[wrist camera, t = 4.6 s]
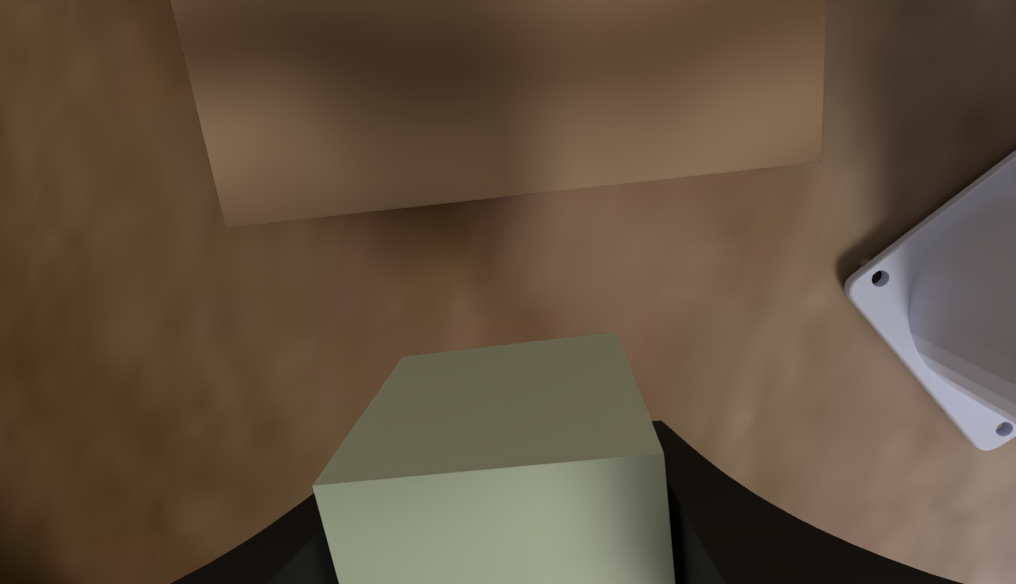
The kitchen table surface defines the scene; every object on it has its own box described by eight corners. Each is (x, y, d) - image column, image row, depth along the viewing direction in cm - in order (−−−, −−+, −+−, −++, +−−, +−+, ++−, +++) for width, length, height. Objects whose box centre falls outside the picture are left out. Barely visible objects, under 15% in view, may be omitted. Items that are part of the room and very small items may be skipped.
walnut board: (182, -75, 16) (146, -98, 15) (803, -180, 14) (833, -218, 13) (251, 221, 18) (225, 227, 17) (797, 160, 17) (821, 161, 15)
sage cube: (617, 331, 12) (663, 452, 7) (636, 521, 13) (688, 733, 8) (402, 357, 13) (312, 486, 8) (440, 536, 14) (383, 745, 9)
